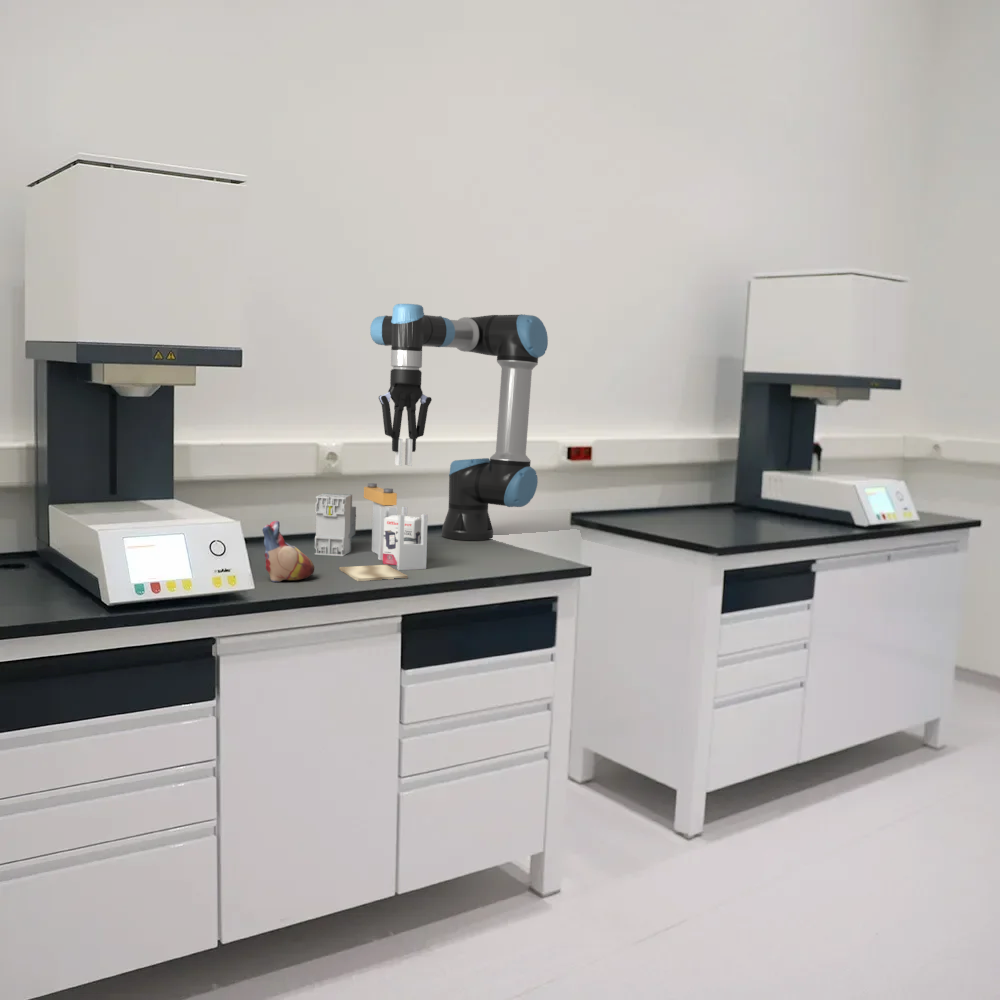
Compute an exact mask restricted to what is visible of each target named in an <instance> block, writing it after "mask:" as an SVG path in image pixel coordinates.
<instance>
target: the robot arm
mask: <svg viewBox="0 0 1000 1000" xmlns="http://www.w3.org/2000/svg"><path fill="white" fill-rule="evenodd" d="M369 329H370V337H371V340H372V342H374V343H375V345H378V346H385V347H389V346H390V347H391V348H390V351H391V352H390V366H391V367H392V368H391V370H390V378H389V379H390V380H389V381H390V382H389V386H390V387H389V388H388V391H387V393H385V394H383V395H381V394H380V395H379V396H378V401H379V403H380V404H381V409H382V420H383V428H384V430H383V431H384V434H385V436H386V437H387V436H388V437H390V438H391V451H392V452H393V453H394V454H395V455H394V466H397V467H398V466H399V467H402V466H403V464H402V463H403V459H402V458H403V438H400V437H401V429H402V420H403V412H404V409H406V413H407V426H408V427H407V428H408V430H407V432H408V438H407V437H406V438H405V447H404V448H405V450H404V451H405V454H404V458H405V460H404V465H405V466H409V467H410V466H411V467H412V465H413V453H415V452H416V451H417V449H416V448H417V439H418V438H420V437H423V436H424V434H425V429H426V423H427V417H428V412H429V406H430V404H431V402H432V400H433V399H432V397H430V396H427V395H426V394H424V392H423V390H422V373H423V372H422V370H420V369H421V368H422V367H423V347H433V348H456V349H457V350H459V351H461V352H465V353H474V354H480V355H486V356H493V357H496V363H497V364H498V365H499V366H500V368H501V375H500V376H501V377H500V386H499V387H500V388H499V400H498V401H499V402H498V414H497V415H498V419H497V430H496V446H495V453H494V454H492V455H491V456H490V457H483V458H482V457H481V458H469V459H456V460H453V461H452V462H451V463H450V467H449V474H448V477H449V478H448V479H449V481H448V511H447V514H446V516H445V519H444V522H443V524H442V528H441V536H442V537H443V538H445V539H451V540H457V541H483V540H484V541H485V540H491V539H493V538H494V528H493V525H492V522H491V518H490V513H489V505H493V506H494V505H495V506H501V507H502V506H504V507H508V508H522V507H525V506H526V505H528V504H530V503H531V500H532V499H533V498H534V496H535V494H536V491H537V488H538V483H539V482H538V481H539V479H538V475H537V471H536V470H535V469H534V468H533V467H531V459H530V458H529V456H528V455H527V441H528V429H529V427H528V426H529V414H530V412H529V411H530V399H531V387H532V373H533V372H532V371H533V369H534V368H535V367H537V366H538V363H539V359H540V358H541V357H543V356H544V355H545V354H546V351H547V348H548V341H549V340H548V339H549V337H548V332H547V328H546V326H545V324H544V322H543V321H542V320H541V319H540V318H539V317H537V316H535V315H534V314H521V313H520V314H491V315H490V314H488V315H483V316H482V315H481V316H474V317H472V316H471V317H469V316H465V317H461V318H459V319H456V320H455V319H450V318H447V317H443V316H442V315H439V316H438V315H428V314H425V312H424V307H423V305H420V304H416V303H396V304H394V306H393V307H392V315H381V316H380V315H379V316H376V317H375V318H373V320H372V321H371V323H370V327H369ZM391 400H392V401H393V403H394V412H393V421H392V413H391V405H390V402H391ZM419 400H420V401H419ZM418 402H419V403H420V405H419V411H418V417H417V418H416V416H417V415H416V410H417V405H416V404H418Z"/></svg>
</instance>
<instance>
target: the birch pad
mask: <svg viewBox="0 0 1000 1000" xmlns="http://www.w3.org/2000/svg"><path fill="white" fill-rule="evenodd" d="M338 570H339V571H341V572H342V573H344V574H345V575H347V576H348V577H350V578H351V579H353V580H355V581H357V582H365V581H366V582H368V581H370V580H371V581H383V580H382V579H388V580H395V579H394V578H405V579H408V574H405V573H403V572H401V570H398V569H397V568H396V569H395V568H393V567H392V566H391V565H389V564H377V565H376V564H373V565H372V564H371V565H358V566H357V565H356V566H354V565H353V566H339V567H338Z"/></svg>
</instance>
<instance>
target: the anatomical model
mask: <svg viewBox="0 0 1000 1000" xmlns="http://www.w3.org/2000/svg"><path fill="white" fill-rule="evenodd" d="M262 533H263V536H264V537H263V538H264V540H263V546H264V548H265V552H264V558H265V569H266V571H267V573H268V575H269V578H270V581H271V582H273V583H281V582H282V581H301V580H305V579H308V578H309V577H311V576H312V575H313V574H314V572H315V565H314V562H313V561H312V560H311V559H310V557H308V556H307V555H306V554H305V553H303V552H302V551H301V550H300V549H299V548H298V547H296V546H295V545H291V544H289V543H288V542H286V541H285V538H284V537H283V534H282V533H281V532H280V521H278V520H273V521H272V522H270V524H266V525H264V526H263V528H262Z"/></svg>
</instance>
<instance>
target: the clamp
mask: <svg viewBox="0 0 1000 1000" xmlns="http://www.w3.org/2000/svg"><path fill="white" fill-rule="evenodd" d="M398 510H399V509H398V506H397V505H381V504H378V503H376V502H373V501H372V519H371V521H372V522H371V523H372V525H371V526H372V527H371V552H373V553H374V554H376V555H377V558H378V559H377V560H378V561H383V537H384V518H386V517H389V516H391V515H398V546H397V565H396V570H398V571H413V570H426V569H427V557H428V556H427V553H428V552H427V549H428V547H427V546H428V544H427V543H428V520H429V519H428V518H429V517H428V514H426V513H421V517H420V518H421V544H404V516H408V507H407V506H401V514H398Z"/></svg>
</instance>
